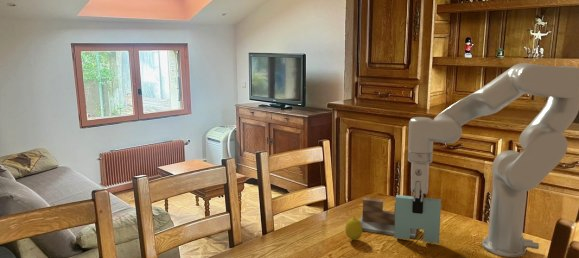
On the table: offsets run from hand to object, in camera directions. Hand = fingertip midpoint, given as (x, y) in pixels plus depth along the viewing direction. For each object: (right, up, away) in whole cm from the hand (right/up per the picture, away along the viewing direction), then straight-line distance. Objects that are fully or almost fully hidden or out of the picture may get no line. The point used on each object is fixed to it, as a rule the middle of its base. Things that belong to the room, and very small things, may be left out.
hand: (417, 210), depth 140 cm
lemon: (-20, -11, +3) cm, 23 cm away
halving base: (-6, -8, +15) cm, 18 cm away
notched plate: (0, -10, +2) cm, 10 cm away
